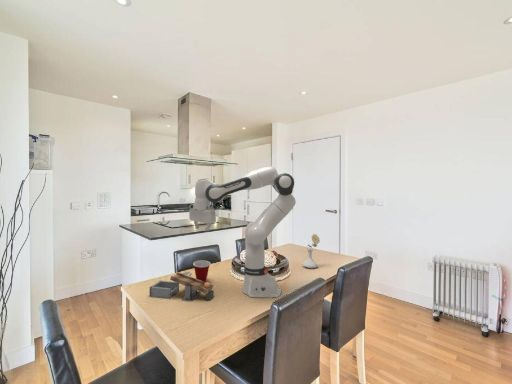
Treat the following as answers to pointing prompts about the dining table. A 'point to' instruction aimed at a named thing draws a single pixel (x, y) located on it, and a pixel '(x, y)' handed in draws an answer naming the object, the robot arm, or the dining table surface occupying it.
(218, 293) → the dining table surface
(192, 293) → the fulcrum
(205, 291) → the lever
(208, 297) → the rest block
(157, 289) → the grey open box
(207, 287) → the ball
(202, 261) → the plastic cup
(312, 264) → the flower in vase
